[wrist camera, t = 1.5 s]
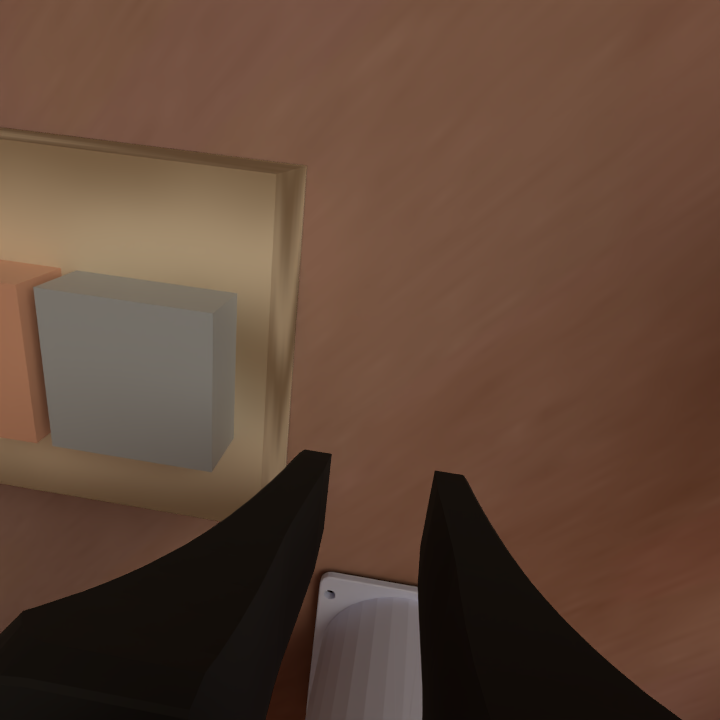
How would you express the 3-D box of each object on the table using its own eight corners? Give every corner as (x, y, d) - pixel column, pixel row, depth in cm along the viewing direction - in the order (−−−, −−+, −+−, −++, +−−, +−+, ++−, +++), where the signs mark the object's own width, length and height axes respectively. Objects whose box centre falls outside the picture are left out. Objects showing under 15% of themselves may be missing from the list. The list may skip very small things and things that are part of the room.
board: (286, 466, 23) (258, 528, 20) (-28, 414, 24) (-110, 464, 21) (306, 165, 19) (276, 174, 15) (-82, 117, 20) (-199, 113, 16)
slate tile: (233, 438, 19) (211, 472, 17) (89, 415, 19) (52, 445, 17) (237, 293, 17) (213, 313, 15) (76, 270, 17) (33, 287, 15)
